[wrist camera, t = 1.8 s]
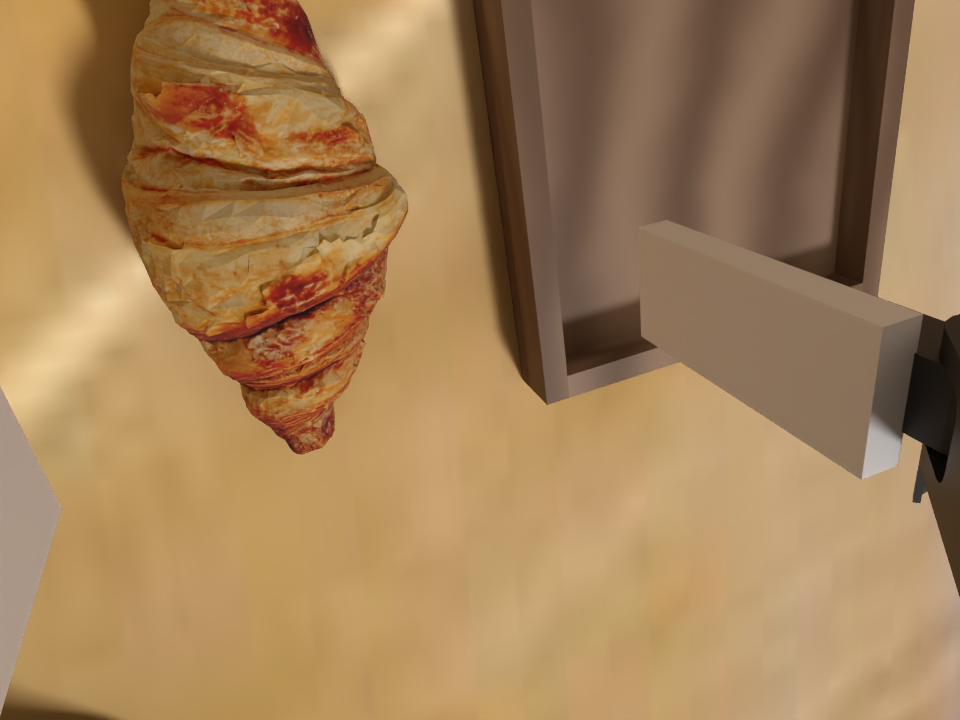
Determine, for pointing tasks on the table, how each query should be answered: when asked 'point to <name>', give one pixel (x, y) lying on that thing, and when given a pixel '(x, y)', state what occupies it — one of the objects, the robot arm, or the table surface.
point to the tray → (680, 153)
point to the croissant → (258, 203)
